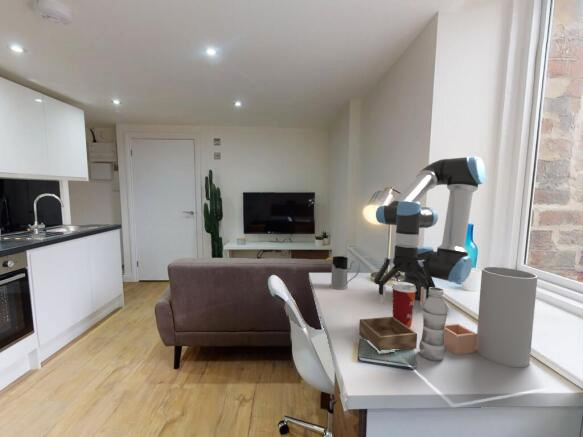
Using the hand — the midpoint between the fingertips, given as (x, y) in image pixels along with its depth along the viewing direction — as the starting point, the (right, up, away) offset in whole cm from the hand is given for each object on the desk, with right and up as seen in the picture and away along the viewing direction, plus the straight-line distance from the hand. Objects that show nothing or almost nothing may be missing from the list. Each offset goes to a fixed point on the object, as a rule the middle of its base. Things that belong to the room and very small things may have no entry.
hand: (402, 305), depth 100 cm
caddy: (-9, -8, -11) cm, 16 cm away
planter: (+11, -9, -14) cm, 20 cm away
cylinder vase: (+22, -10, -18) cm, 30 cm away
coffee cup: (0, -8, +1) cm, 8 cm away
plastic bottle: (+1, -9, -19) cm, 21 cm away
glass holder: (-12, -4, +43) cm, 45 cm away
